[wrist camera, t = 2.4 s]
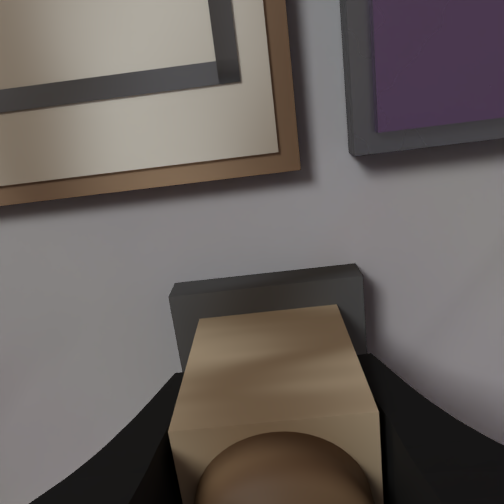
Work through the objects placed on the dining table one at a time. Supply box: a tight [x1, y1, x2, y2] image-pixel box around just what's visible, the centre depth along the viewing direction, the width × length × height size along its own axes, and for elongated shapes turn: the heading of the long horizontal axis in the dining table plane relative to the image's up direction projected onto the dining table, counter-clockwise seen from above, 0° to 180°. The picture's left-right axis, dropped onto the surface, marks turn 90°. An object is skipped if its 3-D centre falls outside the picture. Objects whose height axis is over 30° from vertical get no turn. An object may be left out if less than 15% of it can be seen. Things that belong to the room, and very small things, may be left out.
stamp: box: [168, 264, 383, 504], centre depth 11 cm, size 5×5×7 cm
